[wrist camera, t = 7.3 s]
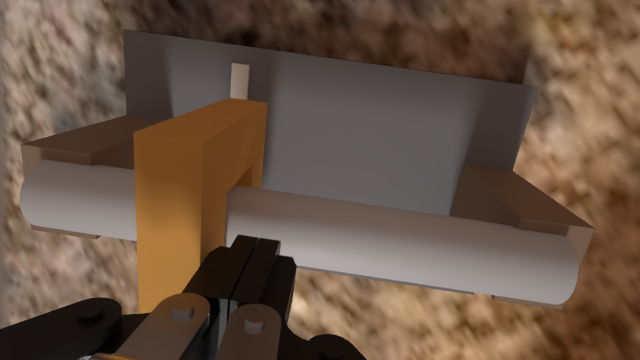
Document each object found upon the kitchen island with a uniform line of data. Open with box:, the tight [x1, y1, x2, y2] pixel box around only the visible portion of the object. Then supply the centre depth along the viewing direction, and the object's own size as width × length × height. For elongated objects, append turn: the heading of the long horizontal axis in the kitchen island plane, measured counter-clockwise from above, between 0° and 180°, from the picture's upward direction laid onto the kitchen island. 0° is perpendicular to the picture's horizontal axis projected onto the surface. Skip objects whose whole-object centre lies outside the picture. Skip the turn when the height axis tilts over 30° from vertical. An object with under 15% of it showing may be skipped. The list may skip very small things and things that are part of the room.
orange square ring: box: [133, 97, 268, 314], centre depth 16 cm, size 2×9×9 cm, turn 173°
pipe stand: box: [20, 29, 595, 310], centre depth 20 cm, size 24×14×12 cm, turn 83°
